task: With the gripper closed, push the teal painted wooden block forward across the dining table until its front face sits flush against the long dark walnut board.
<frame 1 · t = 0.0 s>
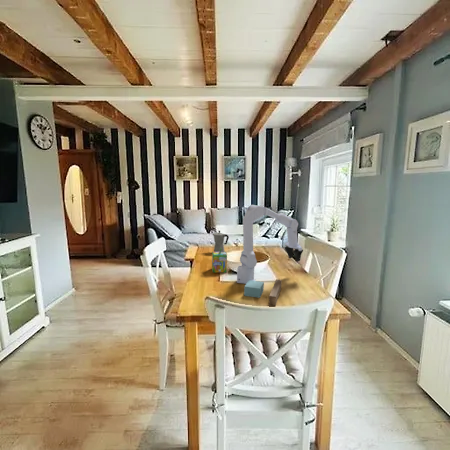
hand: (294, 259, 169), 11 cm above the table, tool pointing down, fingers open, 7 cm apart
chalk box: (219, 270, 178), on the table
coffeepot: (220, 252, 226), on the table
block: (254, 293, 142), on the table
board: (275, 295, 139), on the table
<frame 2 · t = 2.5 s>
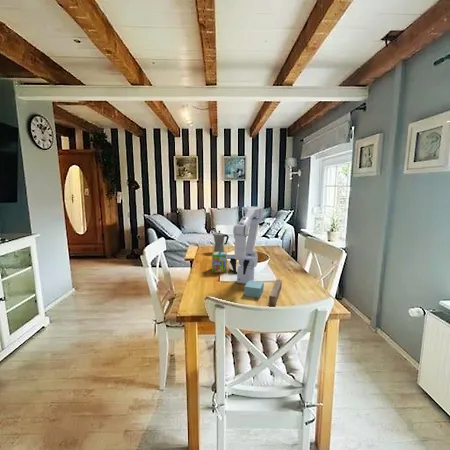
hand: (239, 273, 143), 9 cm above the table, tool pointing down, fingers open, 4 cm apart
nothing on the table moved.
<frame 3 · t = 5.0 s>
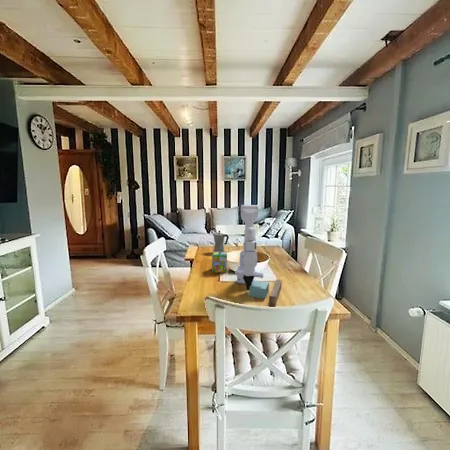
hand: (248, 289, 143), 1 cm above the table, tool pointing down, fingers closed
block: (259, 293, 142), on the table, touching gripper
everything else where it was.
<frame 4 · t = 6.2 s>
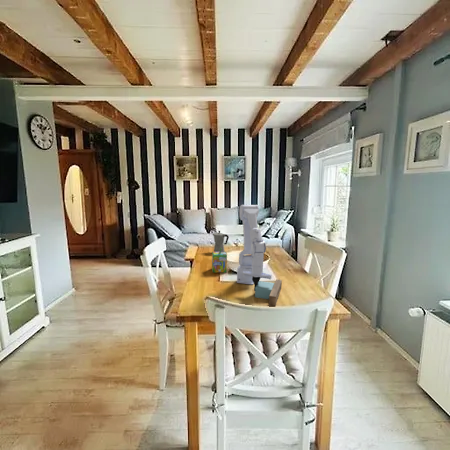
hand: (256, 290, 142), 1 cm above the table, tool pointing down, fingers closed, pressing on block
block: (264, 294, 141), on the table, touching board, gripper
everything else where it was.
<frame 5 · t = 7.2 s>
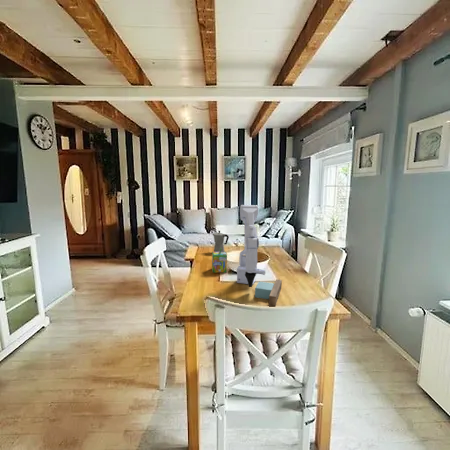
hand: (250, 286, 143), 3 cm above the table, tool pointing down, fingers closed
block: (264, 295, 141), on the table
everything else where it was.
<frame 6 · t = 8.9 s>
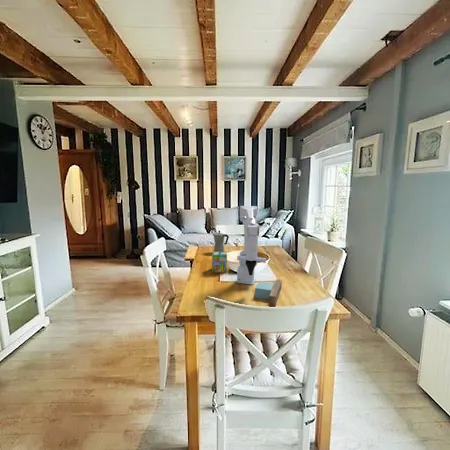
hand: (250, 274, 142), 9 cm above the table, tool pointing down, fingers closed
nothing on the table moved.
at the end: block 0.4 cm from the target spot on the table beside the board, on the table; block tilted 0° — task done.
